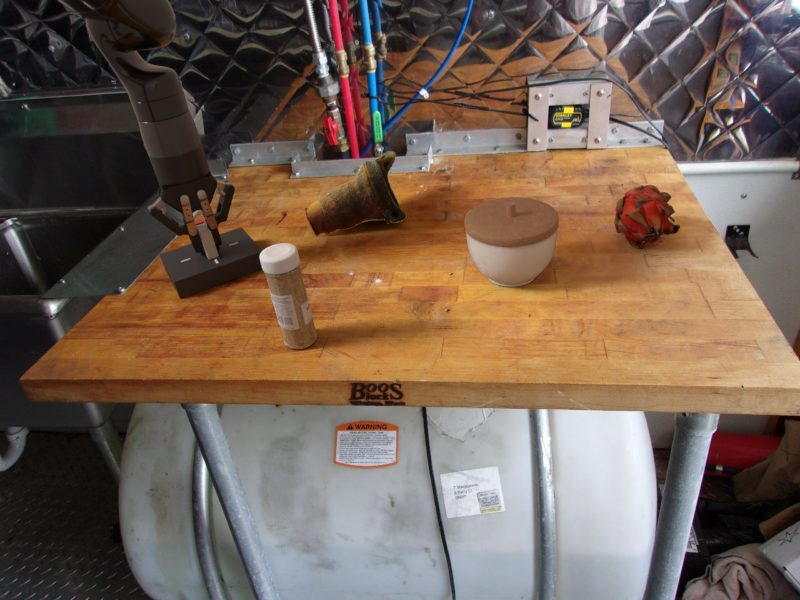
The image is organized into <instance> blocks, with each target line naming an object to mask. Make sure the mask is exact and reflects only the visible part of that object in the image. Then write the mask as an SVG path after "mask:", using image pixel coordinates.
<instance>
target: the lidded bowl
mask: <svg viewBox="0 0 800 600" xmlns="http://www.w3.org/2000/svg"><path fill="white" fill-rule="evenodd" d="M559 221H560V215H559V213H558V211H557V210H556V209H555V208H554V207H553V206H552V205H550V204H548V203H547V202H545V201H541V200H539V199H535V198H528V197H519V196H518V197H517V196H515V197H501V198H495V199H490V200H487V201H483V202H482V203H481V202H480V203H479V204H476V205H475V206H473V207H472V208H470V209H469V211H468V212H467V213H466V215H465V217H464V229H465V236H466V245H467V250H468V254H469V256H470V260H471V262H472V264H473V265H474V267H475V268H476V269H477V270H478V271H479V273H481V274H482V275H483V276H484V277H485V278H487V280H488V281H489V282H490V283H492V284H494V285H497V286H500V287H505V288H516V287H522V286H525V285H528V284H530V283H532V282H533V281H534V280H535V279H536V278H537V276H539V275H540V274H541V273H543V272H544V271H545V269H546V268H547V267H548V265H549V264H550V263H551V261H552V258H553V256H554V253H555V251H556V246H557V241H558V240H557V239H558V229H559V225H560V222H559Z"/></svg>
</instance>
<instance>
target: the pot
mask: <svg viewBox="0 0 800 600" xmlns="http://www.w3.org/2000/svg"><path fill="white" fill-rule="evenodd" d="M396 157H397V156H396V152H395V151H394V150H387V151H385V152H383V153H381V154H380V155H379V156H378V157H377V158H376V159H373V160H371V161H367V160H366V161H363V162H362V166H361V167H360V168H359V170H358V171H357V173H356V174H355V175H354V176H353V177H352V178H351V179H350V180H348V181H346V182H344V183H342V184H340V185H337V186H336V187H334V188H331V189H330V190H329V191H327V192H326V193H325V194H323V195H322V196H320V197H319V198H317V199H316V200H315V201H314V202H312V203H311V204H310V205H309V207H305V208H304V210H305V211H304V212H305V215H306V219H307V221H308V223H309V226H310V228H311V230H312V231H313V233H314V235H315V236H316V237H318V236H319V235H322V234H326V235H330V234H331V233H333V232H336V231H338V230H339V231H346V230H350V229H352V228H356V227H357V225H361V224H363V223H366V222H374V221H376V222H377V221H378V222H380V221H384V222H385V223H386V225H389V224H391V223H392V224H398V223H401V222H403V221H404V220H405V219H406V218H407V217H408V214H407V213H406V212H405V211H404V210H403V209H402V208H401V206H400V204H399V201H398V198H397V197H396V195H395V192H394V191H393V189H392V187H391V184H390V180H389V173H390V171H391V169H392V168H393V165H394V164H395V161H396Z"/></svg>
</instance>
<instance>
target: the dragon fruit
mask: <svg viewBox="0 0 800 600" xmlns="http://www.w3.org/2000/svg"><path fill="white" fill-rule="evenodd" d="M671 199H672V195H671V194H669V193H668V192H667V191H660V190H659V188H658V187H657V186H656V185H653V184H646V185H644V184H642V185H641V184H640V185H639V186H636V187H633V188H631V189H629V190H627V191H626V192H625V193H624V195H623V196H622V198H620V199H619V200H618V201H616V206H615V217H614V221H613V224H614V227H615V232H616V233H617V234H622V235H624V238H625V240H626V241H627V242H629V245H630V246H633V247H635V248H636V249H641V250H643V248H642V246H643V244H644V243H646V244H648V245H650V246H652V247H655V246H656V245H658V244H659V243H662V236H663V235H666V236H670V235H676V234H677V233H678V232H679V230H680V229H681V225H680V224H675V223H676V220H675V219H674V218H673V217H672V215H674V214H675V213H676V211H675V209H674V207H673V206H672V205H671V204H669V202H670V200H671ZM671 221H672V222H673V223H672V222H671Z"/></svg>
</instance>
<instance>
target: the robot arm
mask: <svg viewBox="0 0 800 600" xmlns="http://www.w3.org/2000/svg"><path fill="white" fill-rule="evenodd" d="M57 1H58V2H59V3H60V4H62V5H63V6H65V7H66V8H67V9H69V10H70V11H71V12H73V14H75V15H78V16H79V17H81V18H84V19H85V23H86V28H87V30H88V32H89V35H90V37H91V39H92V40H93V42H94V44H95V45H96V47H97V48H98V50H99V52H100V53H101V54H102V56H103V57H104V58H105V60H106V61H107V63H108V65H109V66H110V68H111V69H112V70H113V72H114V73H115V75H116V77H117V78H118V80H119V82H120V83H121V84H122V86H123V87H124V89H125V91H126V93H127V95H128V99H129V101H130V104H131V107H132V110H133V112H134V114H135V117H136V121H137V123H138V127H139V132H140V137H141V139H142V142H143V148H144V149H145V151H146V153H147V155H148V158H149V161H150V163H151V166H152V169H153V172H154V174H155V177H156V180H157V182H158V186H159V190H158V198H157V199H156V200H155V201H154V202H153V203H149V204H147V210H148V213H149V214H150V216H152V217H153V219H155V220H157V221H158V222H159V223H161V224H162V225H163V226H164V227H166V228H167V229H169V230H170V232H173V233H174V234H175V235H176V236H178V237H181V236H188V238H189V241H190V244H192V246H193V249H194V250H195V252H196V253H200V254H201V256H202V255H205V254H206V253H205V250H204V247H203V244H202V241H201V238H200V235H199V233H198V232H197V230H196V226H195V222H196V221H195V217H194V213H196V212H197V211H200V212H201V213H202V215H203V218H204V220H205V221H204V222H205V224H206V226H207V227H208V228H209V230H210V231H211V234H212V237H213V240H214V243H215V246H216V249H217V250H220V247H219V246H221V245H222V240H221V237H220V234H221V233H220V230H219V225H220V224H221V223H225V222H227V221H228V217H229V214H230V210H231V208H232V207H231V206H232V203H233V202H232V201H233V199H234V195H235V191H236V188H235V186H234V184H232V183H231V182H230V181H228V180H226V181H221V180H217V178H216V176H214V175H213V174H212V172H211V169H210V167H209V163H208V160H207V156H206V153H205V151H204V147H203V143H202V141H201V137H200V134H199V131H198V128H197V124H196V122H195V120H194V118H193V116H192V113H191V111H190V108H189V104H188V102H187V99H186V96H185V92H184V89H183V86H182V82H181V80H180V77H179V75H178V73H177V71H176V70H175V69H173V68H171V67H169V66H164V65H156V64H153V63H149V62H147V61H146V60H145V59H144V58H143V57H142V56H141V55H140V54H139V51H148V50H149V51H150V50H154V49H155V50H157V49H162V48H165V47H167V46H168V45H170V44H171V43H172V42H173V40H174V38H175V37H176V34H177V29H178V26H177V25H178V23H177V18H176V13H175V11H174V9H173V7H172V5H171V3H170V2H169V0H57ZM216 190H217V193H218V195H219V198H218V202H217V204H216V205H217V206H216V209H215V212H214V211H213V209H212V206H211V204H212V202H213V198H214V196H215V193H216ZM166 205H168V206H169V207H171V208H172V209H174V210H176V211H177V212H179V214H180V215H181V217H182V220H183V221H182V222H183V223H179V222H178V221H177V220H175V219H173V218H172V217H171V216H170V215H169V214H168V210H167V208H166Z"/></svg>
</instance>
